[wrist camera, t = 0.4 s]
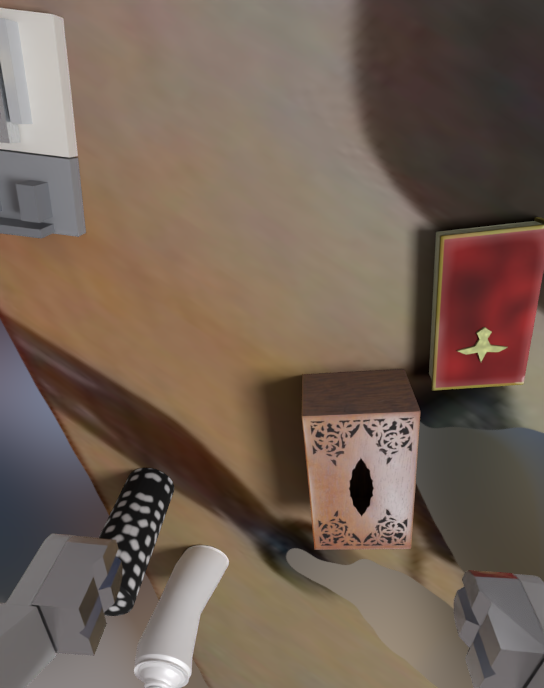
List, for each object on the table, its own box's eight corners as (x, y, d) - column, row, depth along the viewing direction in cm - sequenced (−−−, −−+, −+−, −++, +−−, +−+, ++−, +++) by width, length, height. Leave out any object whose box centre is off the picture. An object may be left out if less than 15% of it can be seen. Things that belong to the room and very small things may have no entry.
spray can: (175, 572, 87) (131, 727, 65) (164, 537, 82) (112, 692, 60) (231, 573, 86) (205, 731, 64) (224, 538, 81) (192, 696, 59)
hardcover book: (538, 216, 50) (556, 224, 46) (513, 368, 60) (527, 385, 56) (431, 228, 51) (441, 237, 48) (425, 374, 61) (432, 391, 57)
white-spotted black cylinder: (143, 505, 78) (96, 619, 60) (118, 474, 75) (60, 585, 57) (182, 495, 76) (145, 610, 58) (158, 462, 72) (111, 574, 55)
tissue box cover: (398, 496, 73) (410, 548, 64) (313, 497, 74) (314, 549, 66) (403, 368, 61) (420, 411, 52) (302, 373, 62) (301, 416, 53)
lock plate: (-72, 1, 44) (-114, -11, 39) (63, 18, 43) (36, 7, 39) (-23, 218, 54) (-52, 228, 50) (85, 232, 54) (66, 243, 50)
